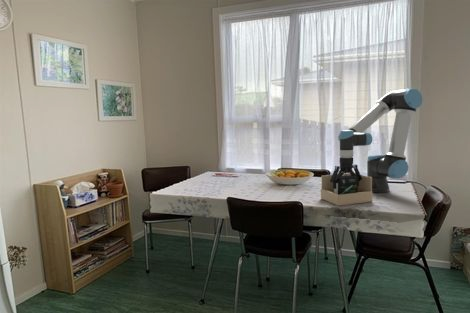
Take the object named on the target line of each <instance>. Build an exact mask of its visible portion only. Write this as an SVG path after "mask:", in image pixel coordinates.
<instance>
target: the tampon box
mask: <svg viewBox="0 0 470 313" xmlns="http://www.w3.org/2000/svg"><path fill="white" fill-rule="evenodd" d="M337 183H338V195H341V194H349V193H358V177H357V176H354V175H351V174H347V175H342V176H341V177H339V180H338V182H337Z"/></svg>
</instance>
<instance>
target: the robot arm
mask: <svg viewBox="0 0 470 313" xmlns="http://www.w3.org/2000/svg"><path fill="white" fill-rule="evenodd" d="M423 100H424V98H423V95H422V93H421V91H420V90H418V89H417V88H404V89H393V90H392V91H389V92H388V93H386V94H384V95H383V96H382V97H381V98H380V99H378V100H377V101H376V102H375V103H376V104H375V105H374V106H373V107H372V108H371V109H370V110H369V111H367V112H366V113H365V114H364V115H363V116H361V118H359V119H358V121H356V122H355V123H354V124H353V125H352V126H350V127H349V128H348V129H342V130H340V131H339V134H338V136H337V137H338V138H337V140H338V141H339V166H338V165H335V166H334V170H333V172H332V174H331V175H332V177H331V179H330V182H332V183H333V189H334V193H336V194H338V183H337V182H338V180H339V177H341V176H342V175H343V174H346V173H350V174H351V175H354V176H357V177H358V186H359V181H360V180H362V177H361V175H362V174H361V172H360V170H359V166H358V164H355V163H354V147H366V146H370V145H371V144H372V143H373V136H372V134H371V133H370V132H366V131H367V130H368V129H369V128H370V127H371V126H372V125H374V124H375V123H376V122H377V121H378V120H379V119H380V118H381V117H383V116H384V115H385V114H388V113H389V112H391V111H393V110H394V112H395V118H394V123H393V128H392V132H391V138H390V142H389V148H388V152H387V153H385V154H374V155H373V154H372V155H368V156H367V159H366V160H367V161H366V164H367V165H366V166H367V167H366V168H367V169H366V171H367V174H366V176H368V177H372V193H388V192H390V185H389V183H388V179H387V178H390V179H398V180H399V179H403V177H405V176H406V175H407V174H408V172H409V163H408V162H407V157H406V156H405V152H406V151H405V150H406V147H407V146H406V145H407V141H408V136H409V132H410V126H411V122H412V117H413V115H415V114H416V111H417V109H418V108H420V107H421V106H422V104H423ZM355 173H356V174H355Z"/></svg>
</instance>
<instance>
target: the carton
mask: <svg viewBox="0 0 470 313" xmlns="http://www.w3.org/2000/svg"><path fill="white" fill-rule="evenodd" d="M354 173H355V172H354ZM347 174H350V173H344V174H343V175H347ZM355 174H356V173H355ZM332 175H333V174H328V175H327V174H326V175H321V188H320V199H321V200H323V201H326V202H328V203H330V204H333V205H335V206H338V207H342V206H348V205H354V204H355V205H356V204H363V203H370V202H373V192H372V177H368V176H367V175H364V174H360V175H361V177H362V180H360V181H359V186H358V193H349V194H341V195H338V194H336V193H334V189H333V183H332V182H330V179H331V177H332Z"/></svg>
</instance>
